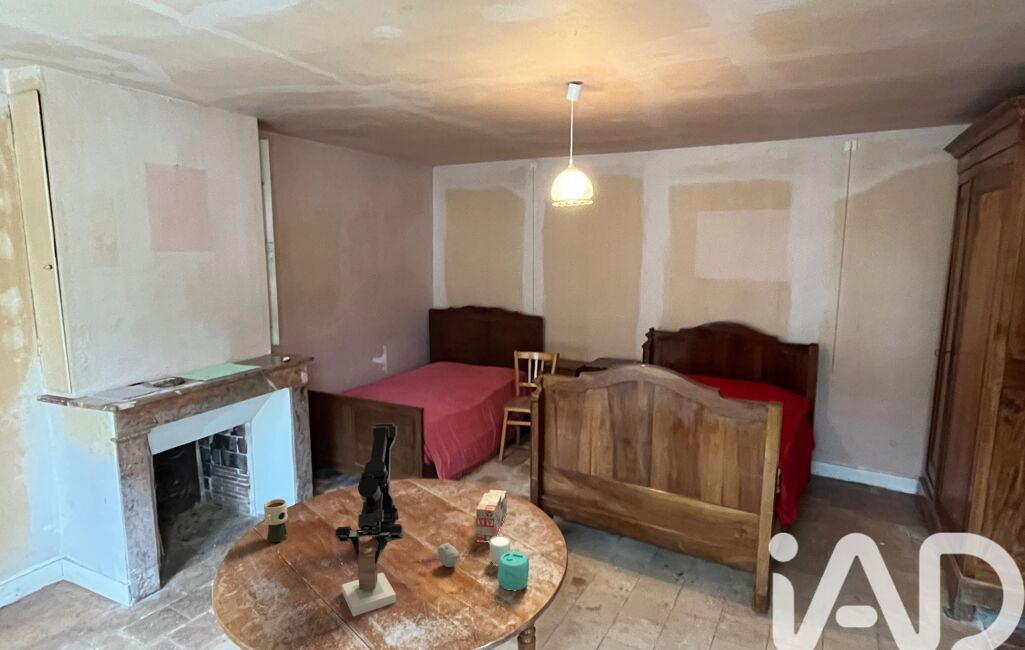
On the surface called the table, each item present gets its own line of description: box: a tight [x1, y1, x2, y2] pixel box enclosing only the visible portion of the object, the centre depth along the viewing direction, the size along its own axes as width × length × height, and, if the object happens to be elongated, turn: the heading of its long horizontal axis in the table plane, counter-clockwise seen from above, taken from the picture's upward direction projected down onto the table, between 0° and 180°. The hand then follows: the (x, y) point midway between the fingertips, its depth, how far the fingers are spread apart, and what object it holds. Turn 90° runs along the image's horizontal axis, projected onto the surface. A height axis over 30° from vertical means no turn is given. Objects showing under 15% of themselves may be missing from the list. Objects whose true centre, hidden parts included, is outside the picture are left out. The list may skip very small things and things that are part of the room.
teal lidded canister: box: [497, 550, 530, 591], centre depth 164 cm, size 8×8×8 cm
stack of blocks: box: [475, 489, 507, 541], centre depth 196 cm, size 21×6×12 cm, turn 169°
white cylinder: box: [488, 535, 512, 565], centre depth 175 cm, size 7×7×7 cm
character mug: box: [263, 498, 289, 543], centre depth 188 cm, size 11×7×13 cm, turn 175°
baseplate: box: [341, 572, 397, 617], centre depth 158 cm, size 12×12×3 cm
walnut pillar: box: [357, 547, 378, 590], centre depth 157 cm, size 4×4×10 cm
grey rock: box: [437, 542, 460, 568], centre depth 173 cm, size 6×7×7 cm
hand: (367, 564), depth 157 cm, fingers closed on walnut pillar, 4 cm apart
